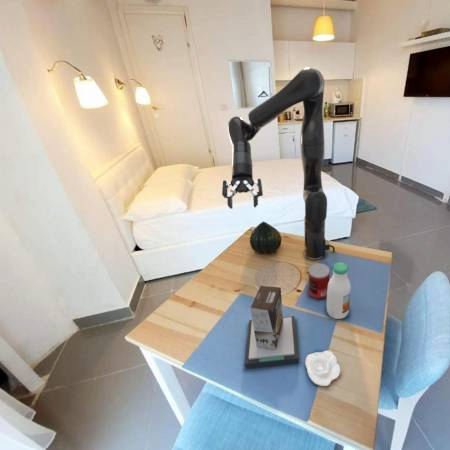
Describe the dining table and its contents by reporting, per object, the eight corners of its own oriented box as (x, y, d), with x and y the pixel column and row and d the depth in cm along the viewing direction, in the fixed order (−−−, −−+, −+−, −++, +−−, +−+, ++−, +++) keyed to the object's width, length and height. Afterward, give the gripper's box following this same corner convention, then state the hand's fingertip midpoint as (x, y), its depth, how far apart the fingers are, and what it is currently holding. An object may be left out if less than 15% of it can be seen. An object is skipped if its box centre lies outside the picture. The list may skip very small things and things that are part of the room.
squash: (267, 254, 110) (276, 222, 112) (240, 248, 116) (249, 217, 118) (281, 259, 123) (289, 229, 125) (256, 252, 129) (263, 225, 131)
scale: (294, 320, 85) (294, 314, 84) (298, 363, 72) (298, 356, 70) (250, 325, 84) (249, 318, 82) (246, 368, 71) (244, 362, 69)
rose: (344, 349, 71) (337, 383, 63) (343, 358, 73) (336, 392, 65) (310, 339, 74) (299, 370, 66) (310, 349, 76) (299, 380, 68)
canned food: (330, 287, 99) (331, 265, 94) (326, 301, 92) (326, 278, 87) (312, 283, 101) (312, 261, 96) (306, 297, 95) (306, 274, 89)
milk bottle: (334, 323, 84) (337, 277, 74) (322, 307, 90) (323, 263, 80) (353, 314, 87) (358, 269, 77) (340, 299, 93) (343, 256, 83)
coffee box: (277, 350, 72) (273, 311, 64) (255, 347, 73) (249, 308, 65) (284, 324, 80) (281, 286, 72) (265, 322, 81) (260, 284, 73)
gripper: (220, 162, 90) (220, 204, 85) (260, 160, 91) (262, 202, 86) (225, 172, 97) (225, 212, 92) (262, 170, 98) (263, 209, 93)
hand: (243, 207), depth 89 cm, fingers open, 8 cm apart
